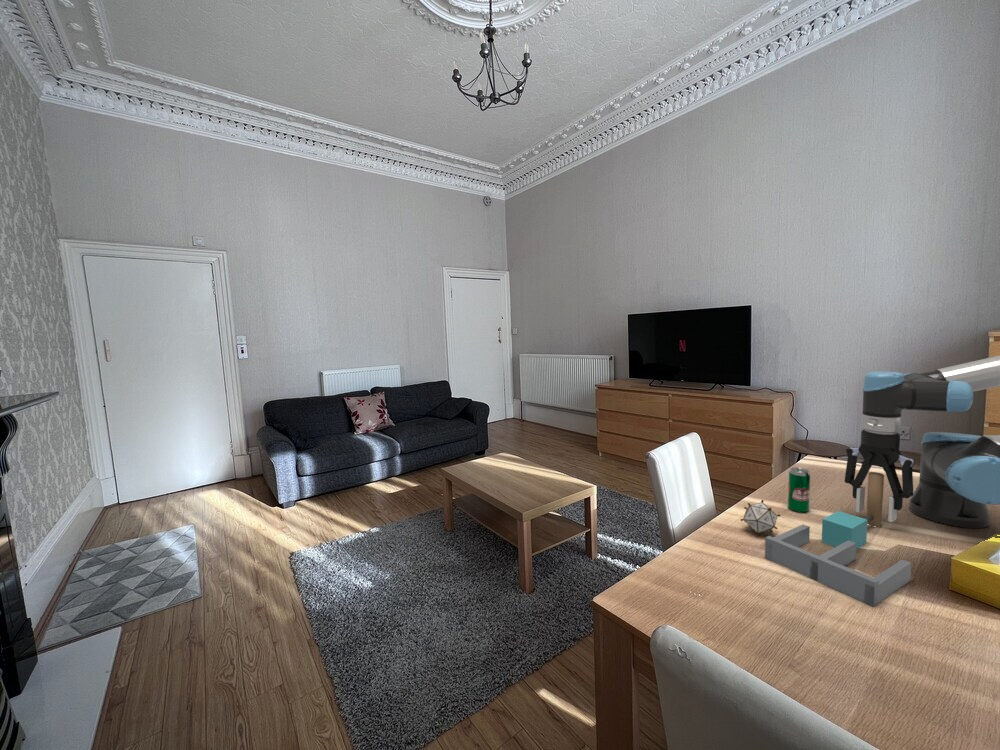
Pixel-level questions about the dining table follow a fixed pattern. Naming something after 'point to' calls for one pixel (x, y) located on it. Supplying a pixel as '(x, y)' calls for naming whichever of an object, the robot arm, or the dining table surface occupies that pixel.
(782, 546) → the lane rack
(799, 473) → the soda can
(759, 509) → the game die
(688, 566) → the dining table surface
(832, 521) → the teal block-headed stick
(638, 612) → the dining table surface
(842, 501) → the dining table surface
